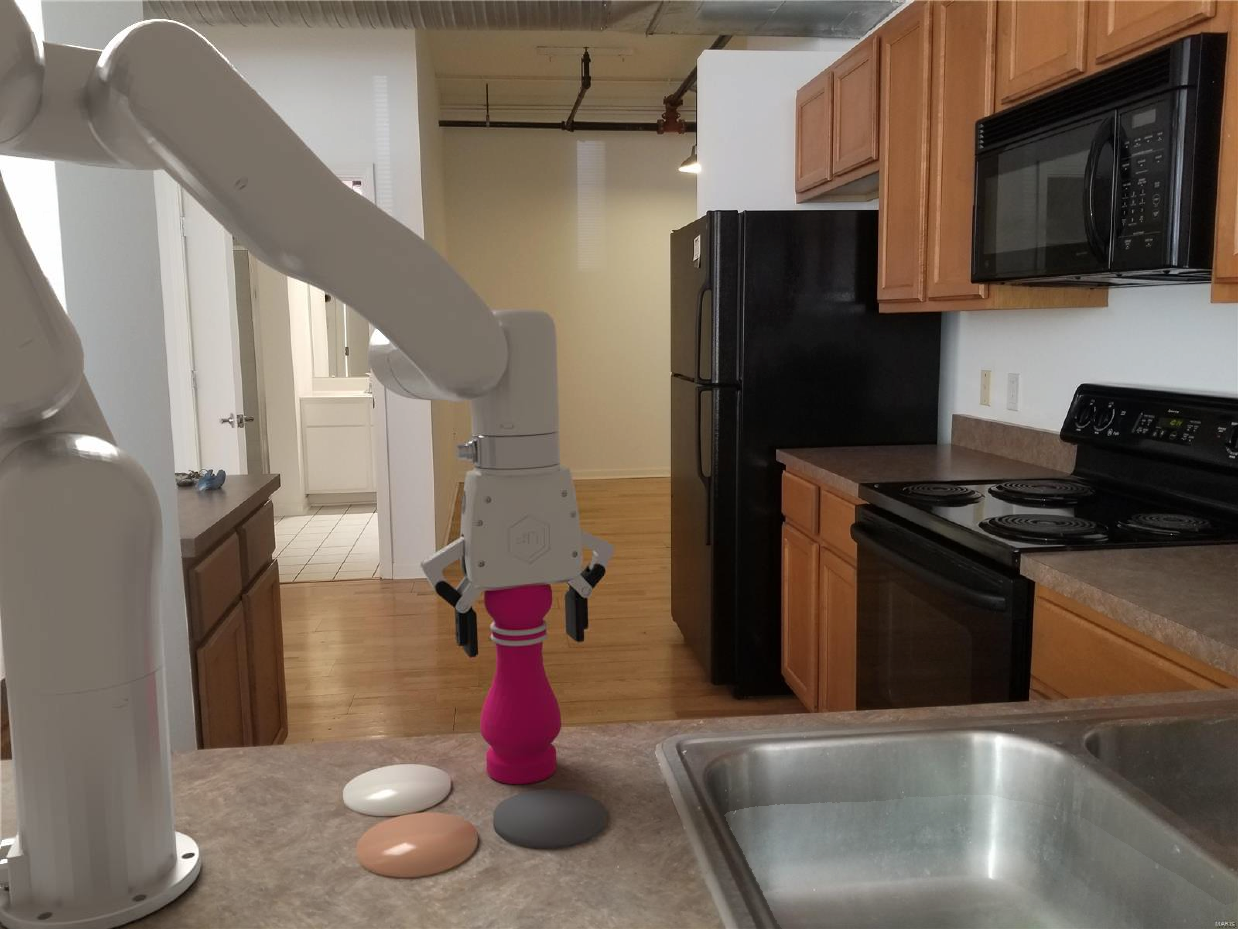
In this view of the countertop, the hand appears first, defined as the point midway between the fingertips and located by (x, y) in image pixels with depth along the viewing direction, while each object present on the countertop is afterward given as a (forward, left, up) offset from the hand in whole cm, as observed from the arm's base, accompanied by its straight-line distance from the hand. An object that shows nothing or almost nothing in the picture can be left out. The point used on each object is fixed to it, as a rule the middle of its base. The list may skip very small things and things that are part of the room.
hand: (523, 645), depth 85 cm
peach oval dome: (-11, -10, -12) cm, 19 cm away
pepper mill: (0, 0, -12) cm, 12 cm away
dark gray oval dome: (-1, -10, -12) cm, 15 cm away
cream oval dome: (-11, 0, -12) cm, 16 cm away
